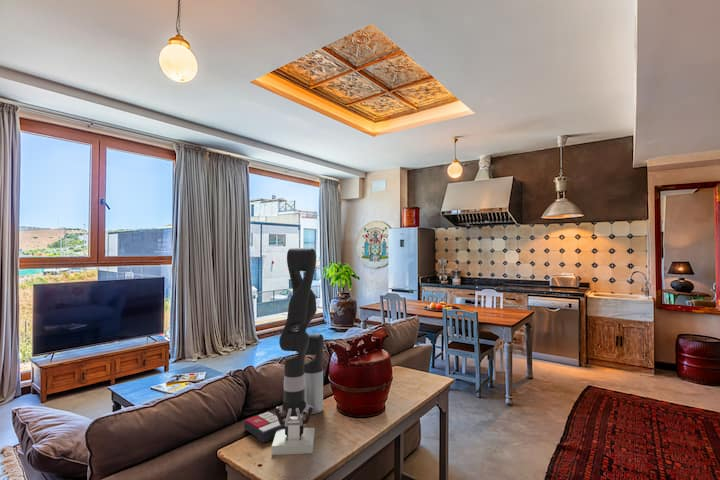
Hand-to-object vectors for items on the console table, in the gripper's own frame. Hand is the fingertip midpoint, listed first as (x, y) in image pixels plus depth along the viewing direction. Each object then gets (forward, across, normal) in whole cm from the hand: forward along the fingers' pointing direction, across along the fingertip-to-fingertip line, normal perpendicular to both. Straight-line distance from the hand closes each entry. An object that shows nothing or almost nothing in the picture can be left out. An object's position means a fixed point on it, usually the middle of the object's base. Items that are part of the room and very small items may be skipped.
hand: (294, 435), depth 130 cm
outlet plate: (+3, 0, 0) cm, 3 cm away
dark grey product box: (+3, +12, -11) cm, 16 cm away
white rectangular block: (+2, 0, 0) cm, 2 cm away
